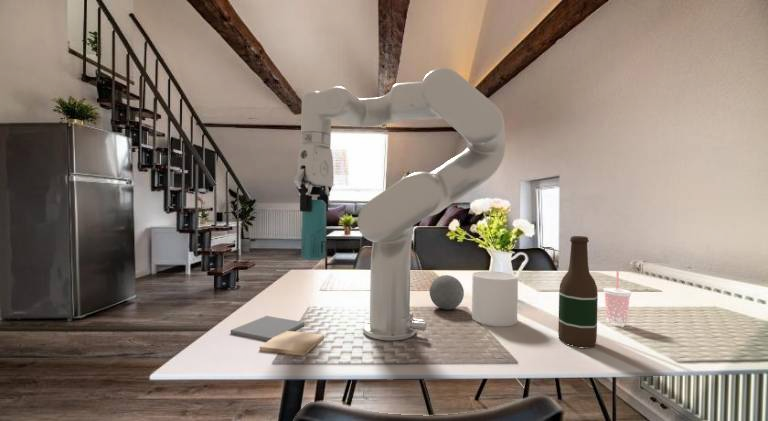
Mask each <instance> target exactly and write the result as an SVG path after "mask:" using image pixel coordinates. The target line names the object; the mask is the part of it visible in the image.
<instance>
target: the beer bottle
mask: <svg viewBox="0 0 768 421" xmlns="http://www.w3.org/2000/svg"><path fill="white" fill-rule="evenodd" d="M569 241H570V242H571V244H570V252H569V253H570V254H569V255H570V256H569V265H568V270H567V272H566V273H565V274H564V276H563V277H562V279H561V281H560V284H559V290H558V340H559V339H560V340H561V341H563V342H564V343H563V342H562V343H563V344H565V343H566V344H569V345H573V346H577V347H576V348H578V347H593V348H594V347H595V345H596V344H595V343H597V337H598V300H599V298H598V296H599V295H598V286H597V284H596V280H595V279H594V277H593V275H592V274H591V273H590V269H589V268H590V266H589V256H588V255H589V253H588V251H589V250H588V243H590V242H589V241H590V240H589V237H587V236H582V235H572V236H570V240H569ZM560 340H559V341H560ZM561 341H560V342H561ZM566 344H565V345H566ZM569 345H568V346H569ZM573 346H572V347H573Z"/></svg>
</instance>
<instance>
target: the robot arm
mask: <svg viewBox="0 0 768 421" xmlns="http://www.w3.org/2000/svg"><path fill="white" fill-rule="evenodd" d="M300 113H301V119H300V121H301V122H300V124H301V125H300V128H301V130H300V146H299V152H298V156H297V157H298V158H297V172H296V174H295V176H294V177H293V182H294V184H295V186H296V189H297V191H298V195H299V211H300V212H302V211H303V212H311V211H312V200H313V195H310V193H311V190H312V187H313V186H317V187H322V193H323V194H322V195H316V196H317V197H316V200H323V201H324V202H325V203H326V213H327V212H328V211H329V197H330V196H331V194H330V193H331V191H332V188H333V187H334V185H335V184H334V159H333V152H332V149H331V141H332V140H331V139H332V138H331V137H332V136H331V135H332V133H331V132H332V119H334V120H337V121H340V122H342V123H343V124H345V125H347V126H350V127H354V128H355V127H379V126H385V125H389V124H392V123H395V122H400V121H416V120H417V121H418V120H440V119H441V120H442V119H444V121H445V122H446V123H448V124H449V125H450V126H451V127H452V128H453V129H454V130H456V132H457V133H459V134H460V136H462V138H464V140H465V142H466V144H467V146H466V148H465V149H464V151H462V152H461V153H459V154H458V155H456V156H454V157H452V158H451V159H449V160H447V161H446V162H444V164H442V165H440V166H439V167H437V168H435V169H434V170H432V171H431V172H427V171H417V172H412V173H411V174H408V175H406V176H404V177H403V178H402V179H400V180H398V181H396V182H395V183H394V184H393V185H391V186H389V187H387V188H386V189H385V190H383V191H382V192H381V193H379V194H377V195H376V196H375V197H373V198H371V199H370V200H369V201H367V202H366V203H365V204H364V205H363V207H361V209H360V211H359V213H358V216H357V227H358V230H359V233H360V235H362V237H363V238H365V239H366V240H367V241H370V242H372V246H371V255H370V284H369V285H370V287H369V288H370V291H369V292H370V293H369V296H370V298H369V321H368V322H366V323H365V324H364V325H363V330H362V332H363V333H364V335H366V336H367V337H369V338H372V339H375V340H378V341H379V340H380V341H391V342H392V341H403V340H406V339H410V338H411V337H414V335H416V333H417V331H422V332H426V330H427V322H425V320H424V319H418V318H415V317H414V312H413V311H411V310H410V305H411V304H410V303H411V302H410V301H411V300H410V299H411V298H410V296H411V258H412V256H411V254H412V253H411V252H412V244H413V243H412V242H413V241H412V239H413V233H414V226H415V225H416V224H418V223H420V222H422V221H423V220H425V219H426V218H428V217H432V216H435V215H438V214H440V213H441V212H442V211H443V210H445V209H446V208H447V207H449V206H451V205H452V204H453V203H455V202H456V201H458V200H460V199H461V198H463V197H465V196H466V195H467V194H469V193H471V192H472V191H473V190H475V189H476V188H478V187H480V186H481V185H482V184H484V183H485V182H487V181H488V180H489V179H490V178H491V177H492V176H493V175H495V173H496V172H497V170H498V169H499V167H500V165H501V164H502V162H503V160H504V157H505V152H506V134H505V133H506V132H505V131H506V130H505V129H506V128H505V119H504V115H503V113H502V112H501V110H500V109H499V108H498V106H497V105H496V104H495V103H494V102H492V101H491V100H490V99H489V98H488V97H486V95H484V94H483V93H482V92H481V91H479V90H478V89H477V88H476V87H474V86H473V85H472V84H471V83H470V82H469V81H468V80H467V79H465V78H464V77H463V76H462V75H460V73H458V72H457V71H455V70H453V69H451V68H448V67H440V68H439V67H438V68H435V69H433V70H431V71H429V72H428V73H427V74H426V75H425V76H424V78H423V80H422V81H414V82H412V81H411V82H399V83H395V84H393V85H392V86H391V89H390V91H389V92H388V93H386V94H385V95H383V96H379V97H369V98H367V97H366V98H359V96H357V95H356V94H355V93H352V92H351V91H350V90H349V89H347V88H345V87H343V86H334V87H333V86H332V87H330V88H328V89H324V90H321V91H318V90H313V91H306V92H305V93H303V95H302V97H301V112H300Z"/></svg>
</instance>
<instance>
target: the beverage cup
mask: <svg viewBox="0 0 768 421" xmlns="http://www.w3.org/2000/svg"><path fill="white" fill-rule="evenodd" d="M619 274H620V273H619V271H618V270H617V271H616V277H615V278H616V282H615V287H604V288H603V293H604V304H605V321H606V320H607V321H608V322H611V323H615V324H627V325H628V319H629V308H630V297H631V296H632V291H631V290H628V289H626V288H625V289H623V288H619V282H620V281H619V279H620V278H619Z"/></svg>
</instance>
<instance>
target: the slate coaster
mask: <svg viewBox="0 0 768 421" xmlns="http://www.w3.org/2000/svg"><path fill="white" fill-rule="evenodd" d="M304 326H305V322H304V321H299V320H293V319H287V318H282V317H276V316H271V315H270V316H269V315H265V316H263V317H262V316H261V317H260V318H257V319H255V320H253V321H250V322H247V323H244V324H242V325H240V326H238V327H235V328H232V329H230V334H231V335H236V336H240V337H247V338H251V339H256V340H262V341H265V342H267V341H269V340H270V339H272V338H273V337H275V336H276V335H278V334H281V333H283V332H285V331H294V332H295V331H296V330H298V329H300V328H302V327H304Z"/></svg>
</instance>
